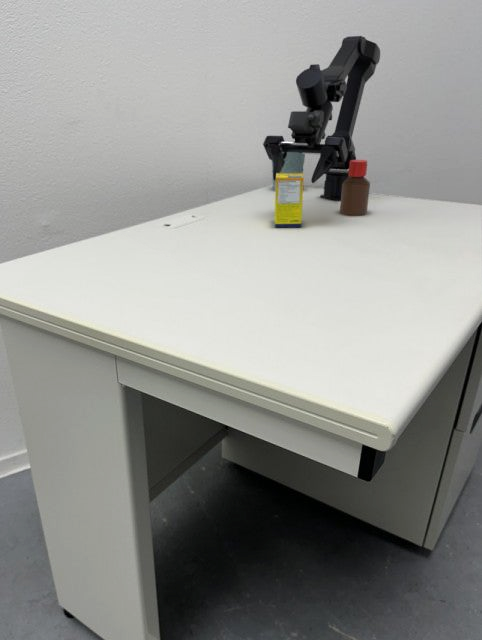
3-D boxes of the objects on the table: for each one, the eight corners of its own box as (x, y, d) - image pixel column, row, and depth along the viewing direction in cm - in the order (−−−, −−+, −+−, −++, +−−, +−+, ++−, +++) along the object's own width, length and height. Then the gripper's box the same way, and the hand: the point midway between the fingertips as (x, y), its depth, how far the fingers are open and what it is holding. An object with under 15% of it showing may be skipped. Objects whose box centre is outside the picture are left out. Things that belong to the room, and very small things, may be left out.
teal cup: (295, 193, 157) (298, 148, 152) (263, 190, 162) (264, 147, 156) (308, 187, 165) (311, 144, 159) (277, 184, 170) (279, 143, 164)
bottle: (352, 208, 137) (358, 160, 132) (372, 213, 133) (378, 163, 127) (334, 212, 134) (338, 163, 129) (353, 217, 130) (358, 165, 124)
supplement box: (299, 221, 128) (302, 172, 122) (301, 227, 122) (304, 176, 117) (274, 221, 128) (275, 172, 123) (274, 227, 123) (276, 176, 118)
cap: (356, 173, 132) (358, 159, 130) (369, 175, 129) (371, 160, 127) (344, 175, 130) (346, 160, 128) (357, 177, 127) (358, 162, 125)
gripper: (267, 96, 123) (244, 154, 120) (349, 95, 114) (326, 158, 111) (280, 131, 132) (259, 186, 129) (356, 133, 123) (335, 192, 121)
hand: (293, 180), depth 122 cm, fingers open, 9 cm apart
